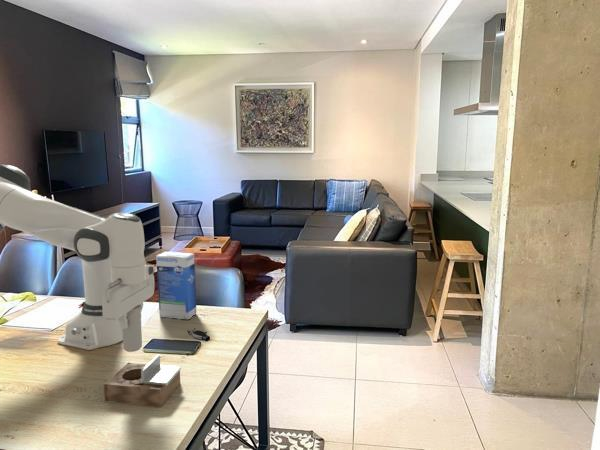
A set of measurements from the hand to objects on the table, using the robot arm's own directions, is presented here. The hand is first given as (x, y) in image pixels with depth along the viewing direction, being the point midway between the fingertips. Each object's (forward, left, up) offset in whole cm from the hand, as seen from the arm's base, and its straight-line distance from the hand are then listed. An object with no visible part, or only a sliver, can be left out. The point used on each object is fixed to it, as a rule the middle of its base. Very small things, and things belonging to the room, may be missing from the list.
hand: (131, 323), depth 119 cm
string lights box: (-12, +55, -20) cm, 60 cm away
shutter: (+8, 0, -15) cm, 17 cm away
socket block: (+3, 0, -20) cm, 20 cm away
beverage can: (0, 0, -8) cm, 8 cm away
